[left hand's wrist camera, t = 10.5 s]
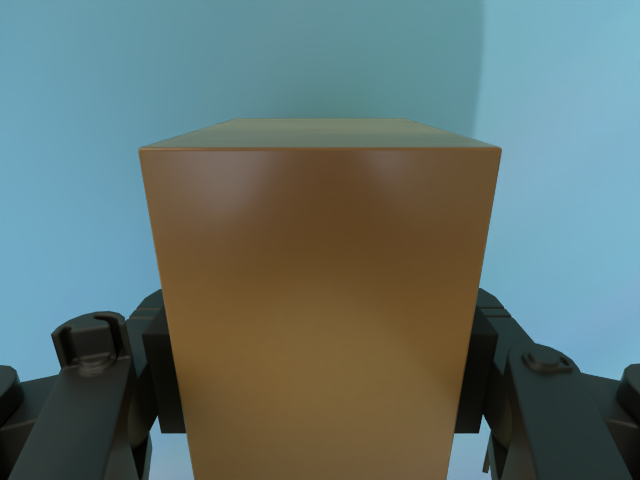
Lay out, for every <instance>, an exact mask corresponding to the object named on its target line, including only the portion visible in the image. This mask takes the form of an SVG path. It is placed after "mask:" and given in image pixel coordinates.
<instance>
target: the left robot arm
mask: <svg viewBox="0 0 640 480" xmlns="http://www.w3.org/2000/svg"><path fill="white" fill-rule="evenodd" d="M51 337H52V340H53V343H54V346H55V350H56V353H57V356H58V359H59V363H60V366H61V371H60V373H59V374H58V375H55V376H50V377H45V378H40V379H35V380H31V381H26V382H21V383H20V380H19V377H18V374H17V372H16V370H15V369H13V368H12V367H11V366H4V365H0V480H148V479H149V470H150V462H151V454H152V443H151V437H150V432H149V431H150V429H151V427H152V425H153V423H154V421H155V419H156V417H157V415H158V419H159V424H160V429H161V433H186V428H185V422H184V416H183V410H182V404H181V399H180V393H179V387H178V381H177V375H176V369H175V363H174V357H173V352H172V346H171V340H170V334H169V328H168V322H167V316H166V310H165V305H164V299H163V293H162V289H159V290H158V291H156V292H154V293H153V294H151V295H149V296H148V297H146V298H145V299H144V300H143V301H142V303H141V304H140V305H139V306H138V307H137V310H135V311H134V312H133V313H132V314H131V316H130V317H129V319H127V320H126V321H125V317H123V316H122V315H121V314H119V313H116V312H111V311H103V312H93V313H89V314H84V315H81V316H79V317H76V318H73V319H71V320H69V321H67V322H65V323H64V324H62V325H60V326H59V327H58V328H57V329H56V330H55V331H54V332H53V333H52V334H51ZM482 415H484V417H485V419H486V421H487V423H488V425H489V427H490V429H491V432H490V437H489V442H488V446H487V451H486V455H485V460H484V465H483V472H484V473H488V470H489V466H490V469H491V478H492V480H640V364H631V365H629V366H628V367H627V368H625V370H624V373H623V375H622V378H621V381H618V380H613V379H608V378H603V377H598V376H593V375H589V374H585V373H581V372H580V370H579V368H578V367H577V365H576V364H575V363H574V362H573V360H571V359H570V358H569V357H567V356H566V355H564V354H563V353H562V352H559V351H557V350H555V349H553V348H551V347H548V346H544V345H540V344H536V343H534V342H533V340H532V339H531V338H530V337H529V336H528V335H527V333H526V332H525V331H524V330H523V329H522V328H521V326H520V325H519V324H518V323H517V322H516V321H515V319H514V318H511V315H510V314H509V312H508V311H507V310H506V309H504V306H503V305H502V304H501V303H500V302H499V301H498V299H497V298H496V297H495V296H493V295H491V294H490V293H488V292H486V291H485V290H483V289H481V288H479V289H478V295H477V301H476V306H475V312H474V318H473V324H472V330H471V336H470V342H469V348H468V354H467V360H466V366H465V372H464V378H463V383H462V389H461V395H460V401H459V407H458V413H457V419H456V425H455V431H454V433H479V430H480V425H481V420H482Z"/></svg>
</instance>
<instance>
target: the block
mask: <svg viewBox="0 0 640 480" xmlns="http://www.w3.org/2000/svg"><path fill="white" fill-rule="evenodd" d="M138 152H139V158H140V164H141V170H142V175H143V181H144V187H145V193H146V199H147V205H148V211H149V217H150V222H151V228H152V234H153V240H154V246H155V252H156V258H157V263H158V269H159V275H160V281H161V287H162V293H163V299H164V305H165V310H166V316H167V322H168V328H169V334H170V340H171V346H172V352H173V357H174V363H175V369H176V375H177V381H178V387H179V393H180V399H181V404H182V410H183V416H184V422H185V428H186V434H187V440H188V446H189V451H190V457H191V463H192V469H193V475H194V480H446V478H447V472H448V466H449V460H450V454H451V449H452V443H453V437H454V431H455V425H456V419H457V413H458V407H459V401H460V395H461V389H462V383H463V378H464V372H465V366H466V360H467V354H468V348H469V342H470V336H471V330H472V324H473V318H474V312H475V306H476V301H477V295H478V289H479V283H480V277H481V271H482V265H483V259H484V253H485V247H486V241H487V235H488V230H489V224H490V218H491V212H492V206H493V200H494V194H495V188H496V182H497V176H498V170H499V164H500V159H501V153H502V149H501V148H500V147H498V146H494V145H491V144H488V143H484V142H481V141H478V140H474V139H471V138H468V137H464V136H461V135H458V134H454V133H451V132H448V131H444V130H441V129H438V128H434V127H431V126H428V125H424V124H421V123H418V122H414V121H411V120H408V119H404V118H236V119H232V120H229V121H226V122H223V123H219V124H216V125H213V126H209V127H206V128H203V129H199V130H196V131H193V132H190V133H186V134H183V135H180V136H176V137H173V138H170V139H166V140H163V141H160V142H157V143H153V144H150V145H147V146H143V147H141V148H139V151H138Z"/></svg>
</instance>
